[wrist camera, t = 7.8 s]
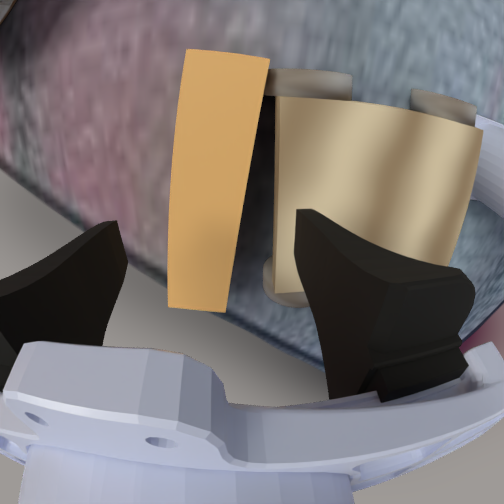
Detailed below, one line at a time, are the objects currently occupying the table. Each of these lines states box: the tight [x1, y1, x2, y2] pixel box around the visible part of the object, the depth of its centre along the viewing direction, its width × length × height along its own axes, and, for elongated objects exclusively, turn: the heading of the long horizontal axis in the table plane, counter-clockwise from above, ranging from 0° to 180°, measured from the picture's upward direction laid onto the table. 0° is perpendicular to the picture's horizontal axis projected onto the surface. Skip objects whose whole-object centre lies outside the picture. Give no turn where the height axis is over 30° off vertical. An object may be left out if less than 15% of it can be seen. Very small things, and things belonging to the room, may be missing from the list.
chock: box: [168, 49, 270, 312], centre depth 18 cm, size 4×16×5 cm, turn 170°
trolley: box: [263, 69, 484, 308], centre depth 18 cm, size 15×15×5 cm
